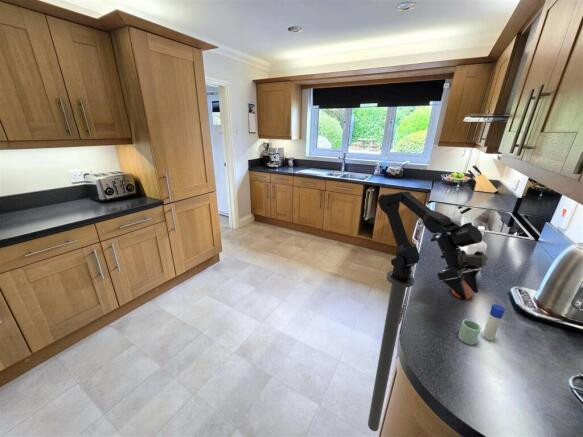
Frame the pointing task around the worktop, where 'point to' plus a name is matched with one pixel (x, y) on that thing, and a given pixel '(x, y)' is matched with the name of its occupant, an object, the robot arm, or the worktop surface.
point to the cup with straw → (467, 288)
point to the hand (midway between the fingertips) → (470, 295)
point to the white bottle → (477, 244)
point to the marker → (493, 321)
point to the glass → (469, 331)
